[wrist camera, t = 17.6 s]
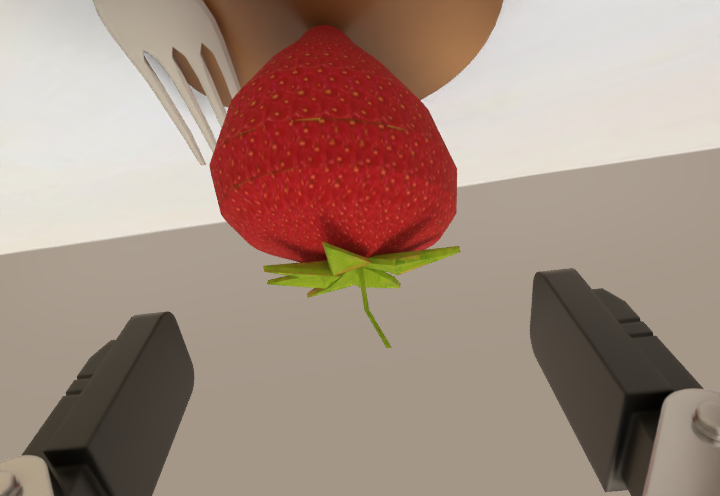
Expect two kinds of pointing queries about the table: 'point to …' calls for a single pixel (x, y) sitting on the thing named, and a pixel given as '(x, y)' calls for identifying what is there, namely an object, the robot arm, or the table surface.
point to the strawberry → (334, 169)
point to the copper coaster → (353, 36)
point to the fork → (157, 36)
